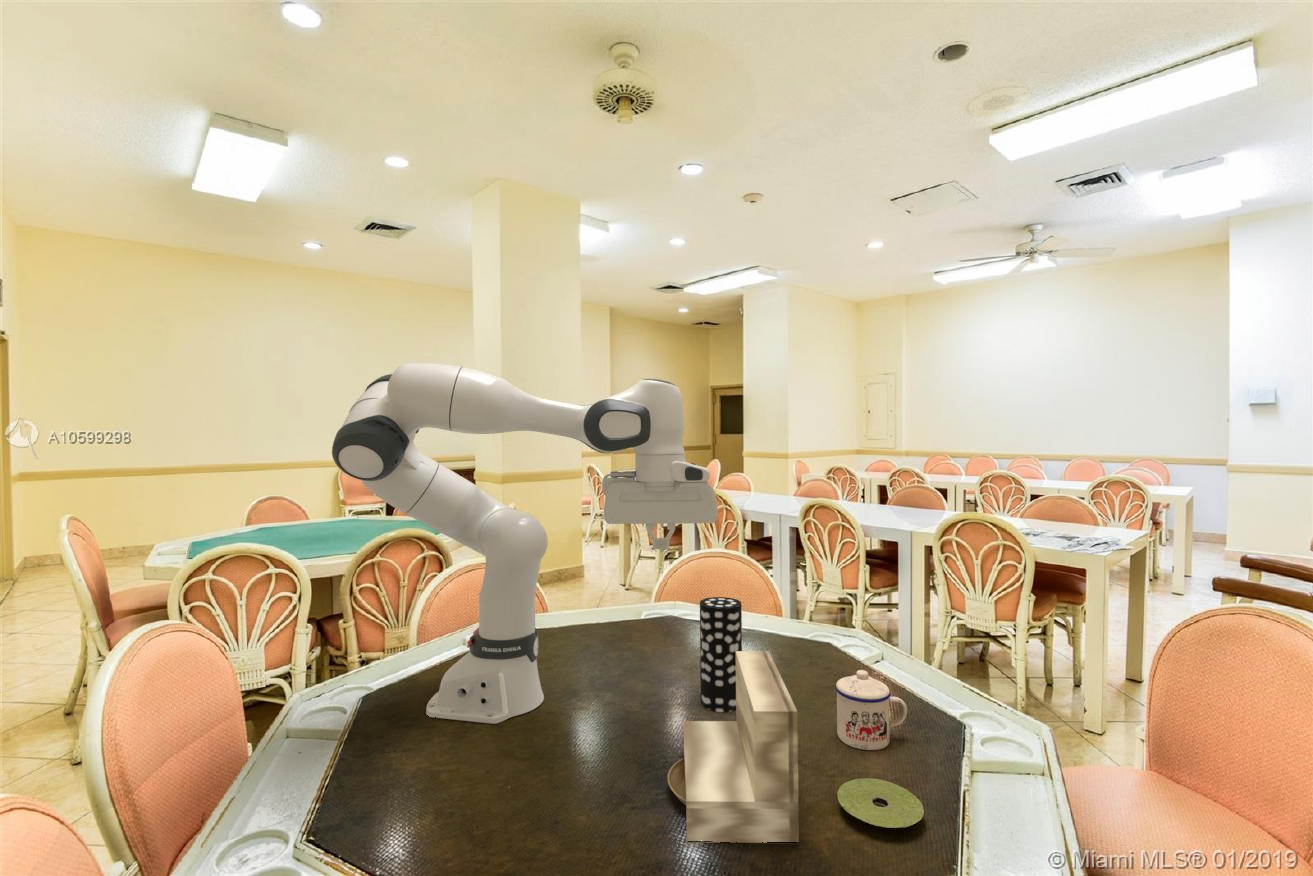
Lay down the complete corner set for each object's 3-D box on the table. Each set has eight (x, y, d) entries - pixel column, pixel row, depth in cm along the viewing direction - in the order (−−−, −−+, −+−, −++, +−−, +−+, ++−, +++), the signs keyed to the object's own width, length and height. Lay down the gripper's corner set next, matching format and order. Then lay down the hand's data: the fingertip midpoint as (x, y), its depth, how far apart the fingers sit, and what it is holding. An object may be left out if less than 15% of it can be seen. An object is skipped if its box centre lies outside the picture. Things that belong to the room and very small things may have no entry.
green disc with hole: (852, 842, 76) (852, 827, 76) (827, 791, 87) (827, 778, 87) (939, 841, 76) (939, 826, 76) (903, 790, 87) (902, 777, 87)
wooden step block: (686, 842, 76) (685, 711, 76) (683, 752, 98) (682, 651, 98) (798, 843, 76) (797, 711, 76) (770, 753, 98) (769, 651, 98)
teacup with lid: (842, 751, 98) (841, 681, 98) (831, 725, 107) (830, 661, 107) (916, 753, 97) (915, 683, 97) (898, 727, 106) (897, 663, 106)
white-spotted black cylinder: (741, 714, 112) (740, 609, 112) (698, 710, 114) (697, 607, 114) (743, 695, 120) (742, 598, 120) (703, 692, 122) (702, 596, 122)
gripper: (599, 472, 101) (600, 552, 101) (718, 471, 100) (719, 551, 100) (604, 470, 108) (605, 545, 107) (715, 469, 107) (716, 545, 107)
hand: (661, 548), depth 104 cm, fingers closed
